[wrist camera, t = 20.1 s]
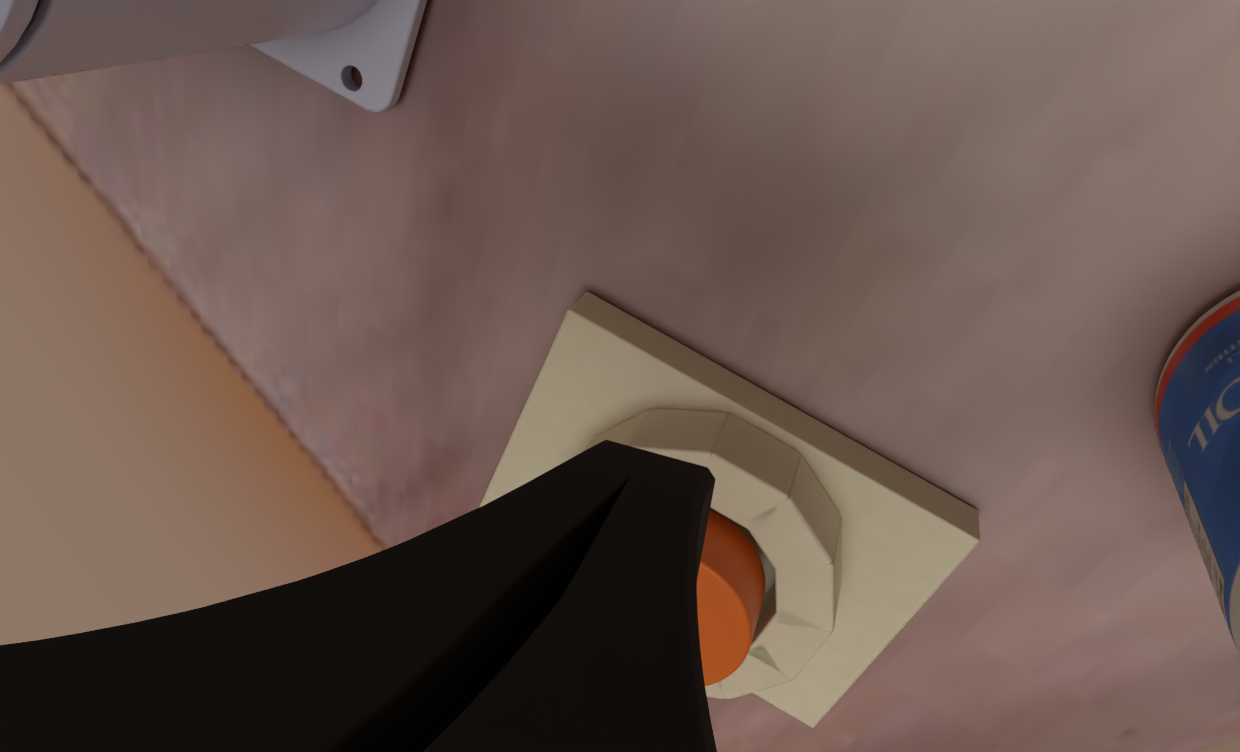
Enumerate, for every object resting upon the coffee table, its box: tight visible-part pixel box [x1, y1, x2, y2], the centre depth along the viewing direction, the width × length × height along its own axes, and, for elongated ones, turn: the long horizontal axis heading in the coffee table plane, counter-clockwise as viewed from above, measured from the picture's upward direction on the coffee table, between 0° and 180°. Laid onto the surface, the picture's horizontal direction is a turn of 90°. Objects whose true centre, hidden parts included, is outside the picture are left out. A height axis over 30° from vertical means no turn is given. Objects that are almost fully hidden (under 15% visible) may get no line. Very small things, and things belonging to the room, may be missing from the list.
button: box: [697, 510, 766, 686], centre depth 19 cm, size 4×4×2 cm
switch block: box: [479, 292, 980, 728], centre depth 21 cm, size 10×7×3 cm
